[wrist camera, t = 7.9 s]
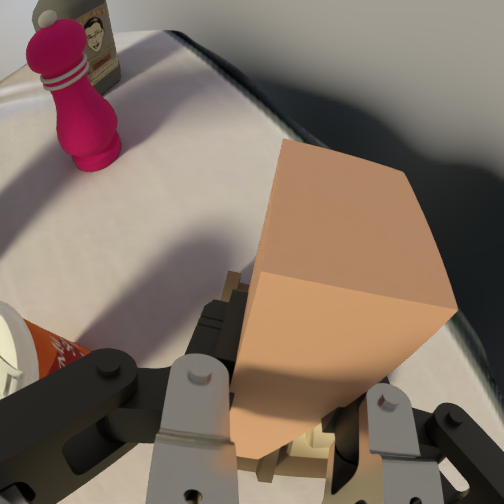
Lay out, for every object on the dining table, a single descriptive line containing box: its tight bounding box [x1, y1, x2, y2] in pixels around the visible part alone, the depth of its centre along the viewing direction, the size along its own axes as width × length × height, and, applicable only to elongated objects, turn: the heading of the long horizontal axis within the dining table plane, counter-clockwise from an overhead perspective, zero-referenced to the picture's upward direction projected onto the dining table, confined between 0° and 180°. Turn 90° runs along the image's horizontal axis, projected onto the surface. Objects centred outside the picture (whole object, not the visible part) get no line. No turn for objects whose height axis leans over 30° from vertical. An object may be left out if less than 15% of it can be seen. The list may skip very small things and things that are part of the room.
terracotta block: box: [229, 139, 458, 459], centre depth 12 cm, size 4×3×18 cm
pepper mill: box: [26, 10, 121, 172], centre depth 24 cm, size 7×7×20 cm
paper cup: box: [0, 301, 91, 400], centre depth 17 cm, size 8×8×14 cm
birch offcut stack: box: [284, 423, 335, 459], centre depth 21 cm, size 11×6×5 cm, turn 169°
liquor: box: [32, 0, 120, 96], centre depth 24 cm, size 9×9×30 cm
